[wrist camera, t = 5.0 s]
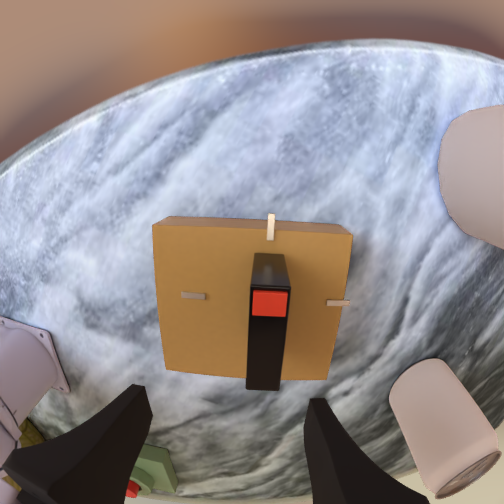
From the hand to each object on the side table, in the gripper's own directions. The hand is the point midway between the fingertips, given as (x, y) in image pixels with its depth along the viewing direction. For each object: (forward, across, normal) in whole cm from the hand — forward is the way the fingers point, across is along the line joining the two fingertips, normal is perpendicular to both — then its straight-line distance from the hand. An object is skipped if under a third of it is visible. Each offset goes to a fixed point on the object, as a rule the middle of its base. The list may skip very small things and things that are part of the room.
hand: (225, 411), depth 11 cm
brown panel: (+9, -1, -2) cm, 9 cm away
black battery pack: (+6, -2, -3) cm, 7 cm away
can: (+9, -16, +8) cm, 20 cm away
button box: (+9, +14, +23) cm, 28 cm away
